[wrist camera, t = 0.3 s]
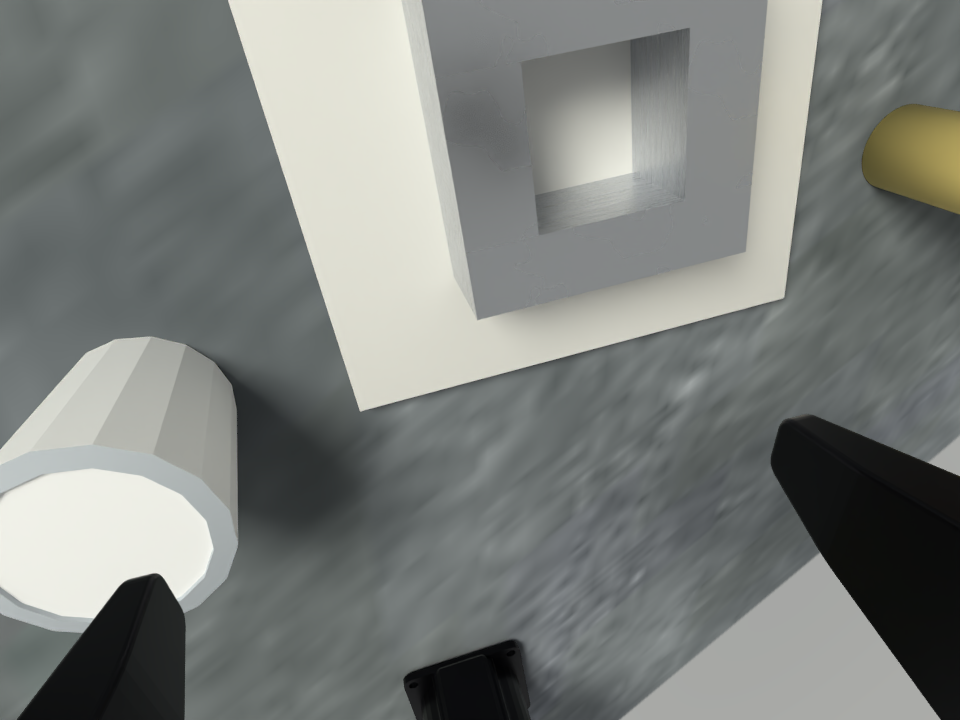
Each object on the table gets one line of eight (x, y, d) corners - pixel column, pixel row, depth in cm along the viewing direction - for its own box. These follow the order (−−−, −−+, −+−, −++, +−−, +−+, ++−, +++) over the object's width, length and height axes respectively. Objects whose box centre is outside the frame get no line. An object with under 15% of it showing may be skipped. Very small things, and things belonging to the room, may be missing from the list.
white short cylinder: (259, 329, 22) (243, 451, 16) (249, 481, 25) (233, 630, 19) (30, 309, 20) (-87, 443, 14) (51, 478, 23) (-38, 646, 17)
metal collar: (688, 219, 23) (746, 252, 20) (453, 276, 22) (477, 320, 19) (698, -76, 18) (775, -91, 15) (397, -22, 17) (416, -27, 14)
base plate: (771, 290, 26) (783, 298, 26) (358, 399, 24) (360, 411, 23) (840, -300, 17) (862, -312, 16) (164, -210, 14) (157, -221, 14)
